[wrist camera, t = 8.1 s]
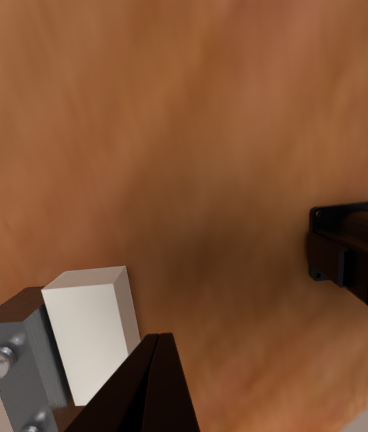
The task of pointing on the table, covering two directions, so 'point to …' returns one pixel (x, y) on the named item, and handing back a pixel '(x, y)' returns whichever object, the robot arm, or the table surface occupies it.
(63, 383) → the stop bar
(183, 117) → the table surface
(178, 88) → the table surface
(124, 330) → the white rectangular block
